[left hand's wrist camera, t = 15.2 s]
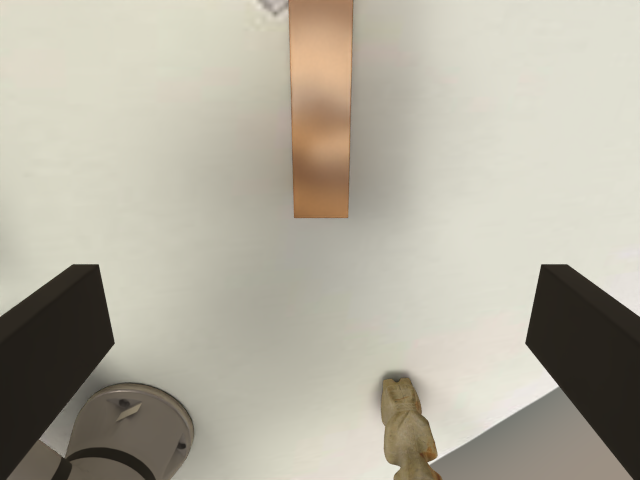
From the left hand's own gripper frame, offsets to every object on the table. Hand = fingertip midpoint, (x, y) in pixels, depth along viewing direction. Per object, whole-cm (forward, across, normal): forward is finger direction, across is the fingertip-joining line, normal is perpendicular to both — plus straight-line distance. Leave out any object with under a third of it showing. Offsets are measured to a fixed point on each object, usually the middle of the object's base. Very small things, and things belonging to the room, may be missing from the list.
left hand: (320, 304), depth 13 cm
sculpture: (+33, -10, +32) cm, 47 cm away
